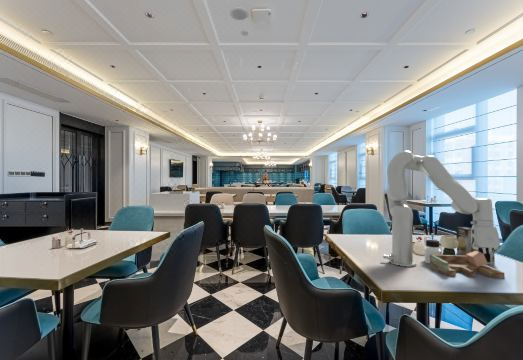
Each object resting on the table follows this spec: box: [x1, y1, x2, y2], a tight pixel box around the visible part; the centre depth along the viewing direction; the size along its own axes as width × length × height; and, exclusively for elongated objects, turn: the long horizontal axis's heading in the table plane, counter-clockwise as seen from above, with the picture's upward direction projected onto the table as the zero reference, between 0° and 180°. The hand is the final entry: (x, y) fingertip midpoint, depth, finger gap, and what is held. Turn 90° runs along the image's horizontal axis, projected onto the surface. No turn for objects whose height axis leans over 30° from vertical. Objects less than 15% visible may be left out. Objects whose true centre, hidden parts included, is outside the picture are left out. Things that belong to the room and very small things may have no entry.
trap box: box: [429, 254, 505, 279], centre depth 122 cm, size 24×14×6 cm, turn 82°
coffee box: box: [456, 226, 472, 256], centre depth 152 cm, size 9×6×16 cm
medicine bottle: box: [424, 238, 442, 264], centre depth 138 cm, size 7×7×12 cm
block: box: [466, 251, 489, 267], centre depth 124 cm, size 5×5×5 cm
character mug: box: [439, 234, 458, 255], centre depth 143 cm, size 11×7×13 cm, turn 10°
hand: (486, 261), depth 123 cm, fingers closed
